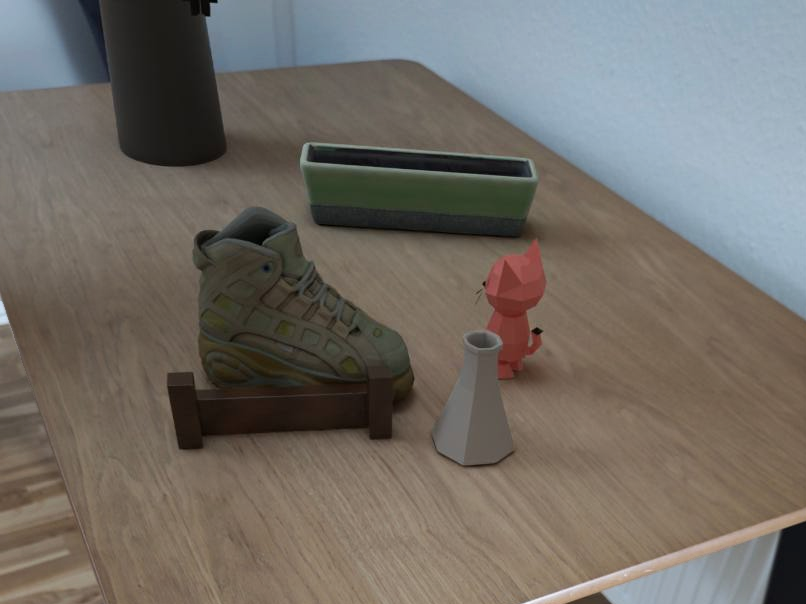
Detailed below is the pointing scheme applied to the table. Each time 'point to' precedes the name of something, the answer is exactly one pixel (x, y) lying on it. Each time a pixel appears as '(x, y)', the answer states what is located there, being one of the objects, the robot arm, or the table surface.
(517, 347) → the cat figurine
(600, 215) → the table surface
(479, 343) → the flask
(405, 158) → the planter
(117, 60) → the vase
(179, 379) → the wooden hurdle
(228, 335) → the sneaker
